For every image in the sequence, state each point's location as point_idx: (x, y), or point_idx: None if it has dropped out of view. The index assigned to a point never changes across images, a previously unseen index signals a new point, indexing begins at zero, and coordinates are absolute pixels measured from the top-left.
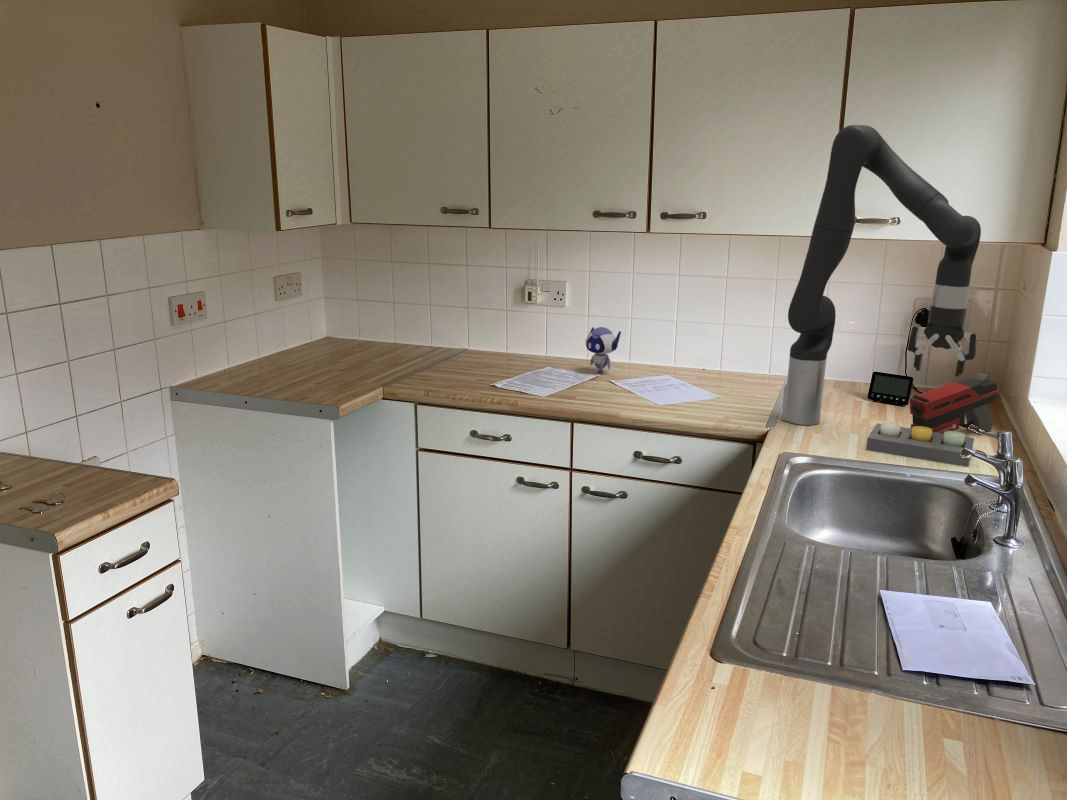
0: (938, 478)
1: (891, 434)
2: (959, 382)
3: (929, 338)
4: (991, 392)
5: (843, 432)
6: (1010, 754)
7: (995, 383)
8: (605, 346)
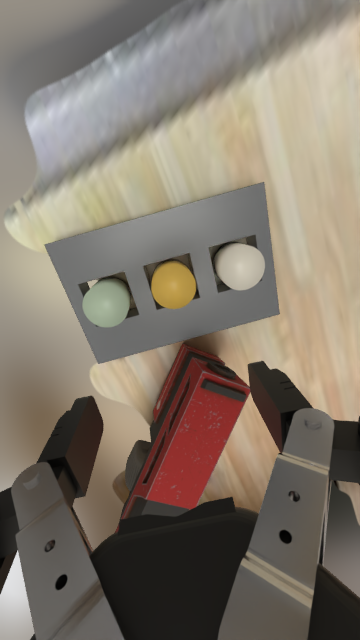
0: (51, 94)
1: (227, 246)
2: None
3: (318, 582)
4: None
5: (324, 270)
6: None
7: None
8: None
